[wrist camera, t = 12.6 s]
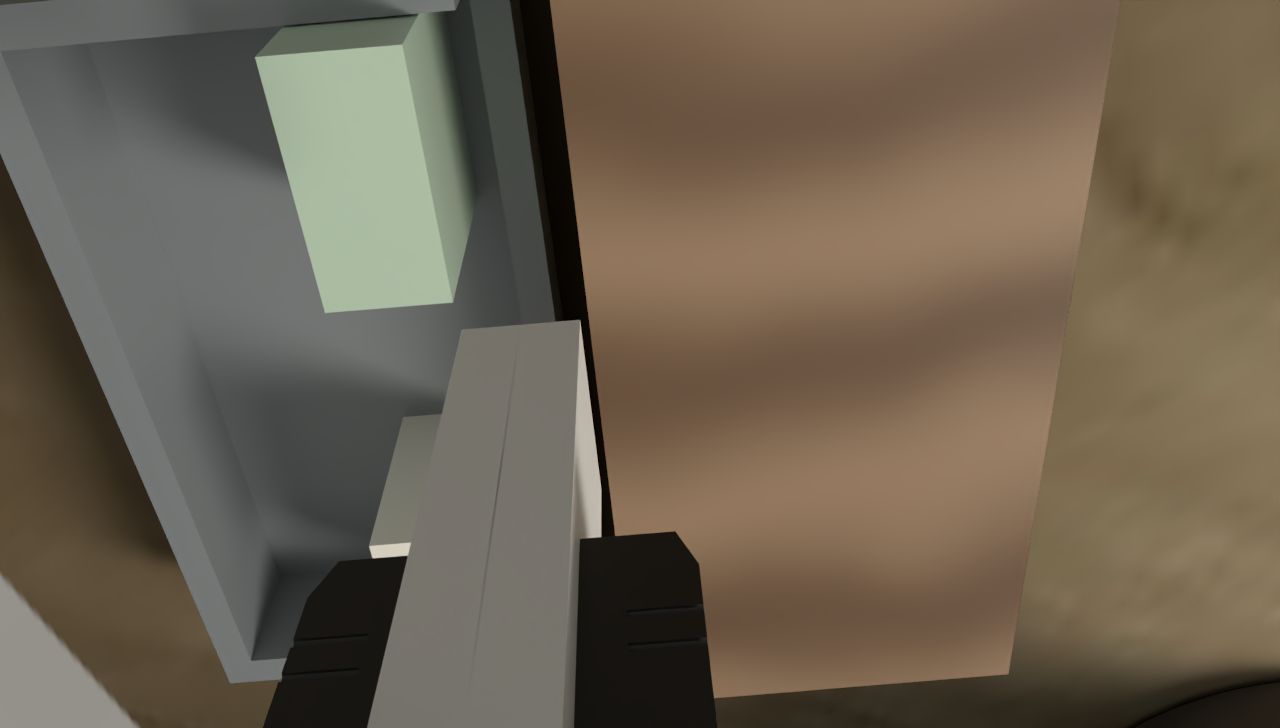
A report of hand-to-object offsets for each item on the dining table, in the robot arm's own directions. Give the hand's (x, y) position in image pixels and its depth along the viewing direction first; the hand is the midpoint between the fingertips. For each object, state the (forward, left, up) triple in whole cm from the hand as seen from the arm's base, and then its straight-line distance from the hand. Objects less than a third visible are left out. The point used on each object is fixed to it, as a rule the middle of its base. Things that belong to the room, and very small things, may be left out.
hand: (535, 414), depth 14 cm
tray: (-5, +6, -12) cm, 15 cm away
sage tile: (+1, +2, -9) cm, 9 cm away
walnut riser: (-5, -5, -12) cm, 14 cm away
